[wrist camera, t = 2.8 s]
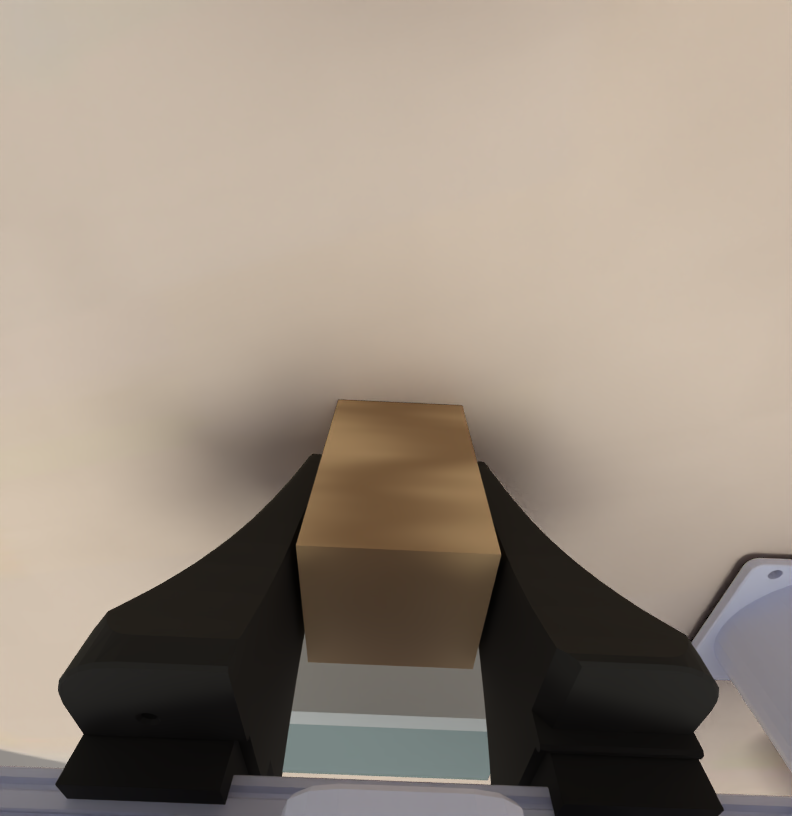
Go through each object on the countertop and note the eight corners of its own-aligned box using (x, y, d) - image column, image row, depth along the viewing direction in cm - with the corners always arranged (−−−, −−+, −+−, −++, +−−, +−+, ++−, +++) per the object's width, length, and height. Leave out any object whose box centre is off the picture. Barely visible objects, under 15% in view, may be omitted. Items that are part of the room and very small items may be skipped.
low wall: (536, 635, 19) (562, 722, 16) (532, 647, 20) (556, 734, 17) (236, 622, 19) (204, 707, 16) (239, 635, 19) (208, 720, 16)
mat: (516, 692, 22) (517, 698, 21) (486, 774, 26) (487, 780, 26) (250, 681, 21) (248, 687, 21) (269, 765, 26) (268, 771, 26)
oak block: (462, 405, 13) (501, 554, 8) (448, 499, 15) (472, 669, 10) (338, 399, 13) (295, 545, 8) (340, 495, 15) (307, 662, 10)
